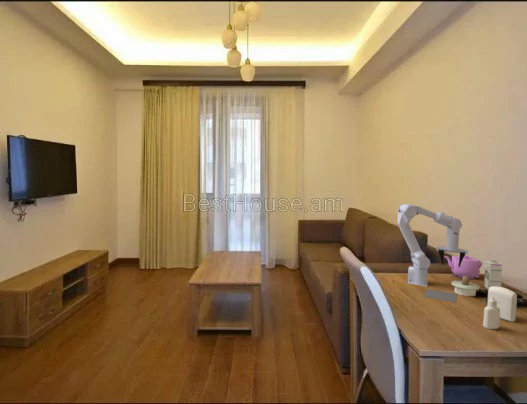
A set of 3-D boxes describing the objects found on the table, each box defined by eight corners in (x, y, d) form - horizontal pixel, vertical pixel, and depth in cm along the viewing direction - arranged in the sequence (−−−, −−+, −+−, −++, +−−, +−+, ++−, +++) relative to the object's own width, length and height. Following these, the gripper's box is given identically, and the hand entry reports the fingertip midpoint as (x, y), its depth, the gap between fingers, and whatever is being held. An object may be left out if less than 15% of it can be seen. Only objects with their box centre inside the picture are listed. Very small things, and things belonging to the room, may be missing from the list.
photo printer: (484, 313, 143) (486, 284, 142) (490, 311, 145) (492, 283, 144) (511, 322, 134) (513, 292, 133) (517, 320, 136) (519, 291, 135)
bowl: (454, 294, 165) (454, 286, 165) (454, 289, 173) (455, 281, 172) (475, 298, 160) (476, 290, 160) (475, 292, 168) (475, 284, 168)
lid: (449, 286, 165) (450, 277, 164) (452, 280, 174) (453, 271, 174) (478, 291, 158) (479, 282, 157) (480, 285, 167) (481, 275, 167)
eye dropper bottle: (480, 323, 133) (483, 294, 132) (497, 326, 131) (499, 296, 130) (484, 328, 128) (486, 298, 127) (501, 330, 127) (503, 300, 126)
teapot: (478, 275, 197) (479, 254, 196) (483, 280, 188) (485, 258, 187) (440, 272, 204) (441, 251, 203) (443, 277, 194) (445, 255, 193)
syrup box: (501, 291, 171) (503, 263, 169) (488, 290, 172) (490, 262, 171) (495, 287, 176) (497, 260, 175) (483, 286, 177) (485, 259, 176)
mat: (423, 297, 160) (423, 296, 160) (426, 289, 171) (426, 288, 171) (455, 303, 153) (455, 302, 153) (456, 294, 165) (456, 293, 165)
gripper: (436, 240, 179) (435, 265, 180) (468, 243, 171) (466, 269, 172) (437, 238, 185) (436, 262, 186) (468, 241, 177) (466, 266, 178)
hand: (451, 265), depth 180 cm, fingers open, 7 cm apart
